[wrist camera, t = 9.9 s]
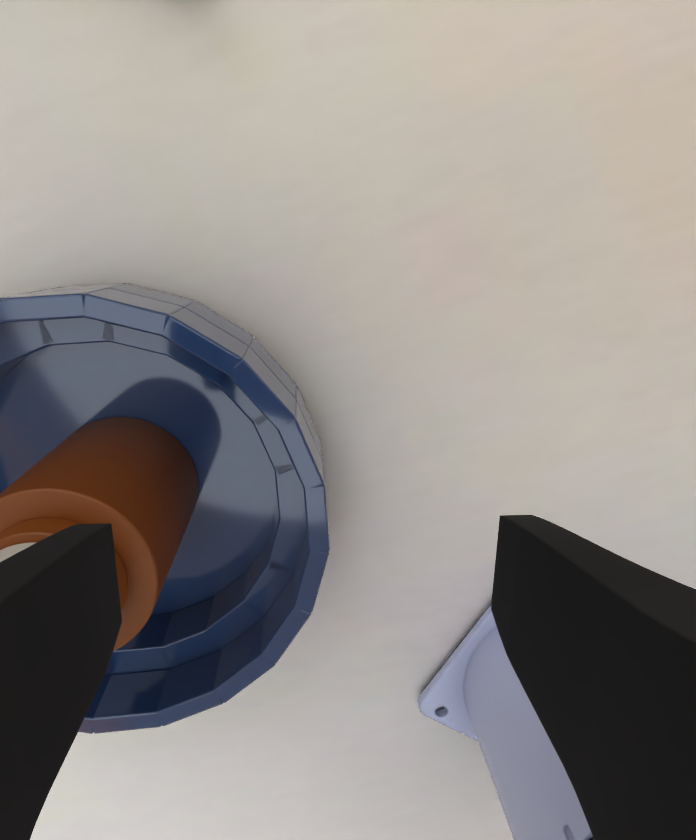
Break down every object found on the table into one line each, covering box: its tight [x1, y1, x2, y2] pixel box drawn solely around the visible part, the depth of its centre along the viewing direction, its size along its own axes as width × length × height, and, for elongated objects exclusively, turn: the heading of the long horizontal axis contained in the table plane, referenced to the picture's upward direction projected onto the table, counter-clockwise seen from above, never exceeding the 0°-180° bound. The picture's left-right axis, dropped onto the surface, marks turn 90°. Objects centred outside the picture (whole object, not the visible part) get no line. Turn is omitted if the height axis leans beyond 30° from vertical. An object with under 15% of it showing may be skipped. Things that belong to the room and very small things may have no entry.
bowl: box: [0, 283, 329, 734], centre depth 18 cm, size 13×13×4 cm
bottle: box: [0, 417, 198, 651], centre depth 16 cm, size 5×5×8 cm
